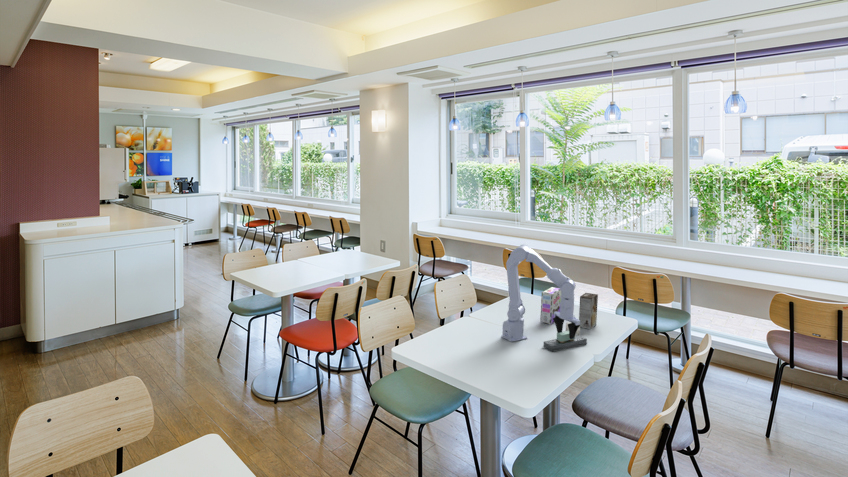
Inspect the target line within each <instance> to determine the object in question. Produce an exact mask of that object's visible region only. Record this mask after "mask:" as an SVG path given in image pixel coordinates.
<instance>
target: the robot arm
mask: <svg viewBox="0 0 848 477" xmlns="http://www.w3.org/2000/svg"><path fill="white" fill-rule="evenodd" d="M523 261H525V262H527V263H528V262H529V263H533V264H535V265H536V266H537V267H538V268H539V269H541V270H543V272H545V273H546V276H547V277H546V278H548V279H549V280H550V281H551V282H552V283H553V284H555V286H557V288H560V290H561V306H560V312H557V311H556V312H554V316H555V318H553V320H554V322H553V323H555V324H554V325H555V328H556V332H557V333H560V332H563V327H564V323H565V321H566V322H568V323H570V324H568V328H569V338H570V339H574V337H575V334H576V331H577V329H578V328H579V326H580V320H579V318H577V317H575V315H574V310H575V289H576V287H577V286H576V283H575V281H574V280H573V279H572V278H570V277H569V276H566V275H565V274H563V272H562V270H561V269H560V268H557V267H552V266H550V265H549V263H547V262H546V260H545V259H543V258H542V256H540V255H539V254H538V253H537V252H536V251H535V250H534V249H533V248H530V246H528V244H520V245H519V246H518V247H516V248H514V249H513V250H512V251H511V252H510V255H509V256H508V258H507V260H506V264H505V266H506V276H507V277H506V278H507V284H508V286H507V288H508V296H509V303H508V309H507V320H505V321H503V322H502V334H501V337H502V338H503V339H505V340H507V341H509V342H512V343H513V342H516V341H522V340H527V339H528V337H527V336H525V335H524V328H525V324H524V323H525V318H524V316H523V315H524V314H525V313H526V308H525V306H524V303H523V300H522V298H521V289H520V278H519V267H518V266H519V265H520V264H521V263H522V262H523ZM557 333H556V334H557Z"/></svg>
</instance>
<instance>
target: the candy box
mask: <svg viewBox="0 0 848 477" xmlns="http://www.w3.org/2000/svg"><path fill="white" fill-rule="evenodd" d="M561 293H562V292H561V290H560V287H553V286H551V287H550V288H547V289H545V290H544V291H541V300H540V301H541V302H540V321H539V322H540V323H543V324H546V325H552V324H553V323H555V322H554V320H553V318H555V316H554V312H556V311H557V312H560V306H561Z"/></svg>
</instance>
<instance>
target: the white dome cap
mask: <svg viewBox="0 0 848 477" xmlns="http://www.w3.org/2000/svg"><path fill="white" fill-rule="evenodd" d="M570 323H571V322H566V323H565V331H569V328H568V324H570ZM580 328H581V327H580V326H579V328H578V329H577V331H576V334H575V335H579V336H580V333H581V332H580Z"/></svg>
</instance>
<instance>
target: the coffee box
mask: <svg viewBox="0 0 848 477" xmlns="http://www.w3.org/2000/svg"><path fill="white" fill-rule="evenodd" d="M598 298H599V294H597V293H591V292H585V293H583V294H582V295H580V296H579V309H578V311H579V312H578V320H580V328H582V329H588V330H592V329H593V328H594V327H596V326H597V320H598V319H597V316H598V304H599V303H598V300H599V299H598Z"/></svg>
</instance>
